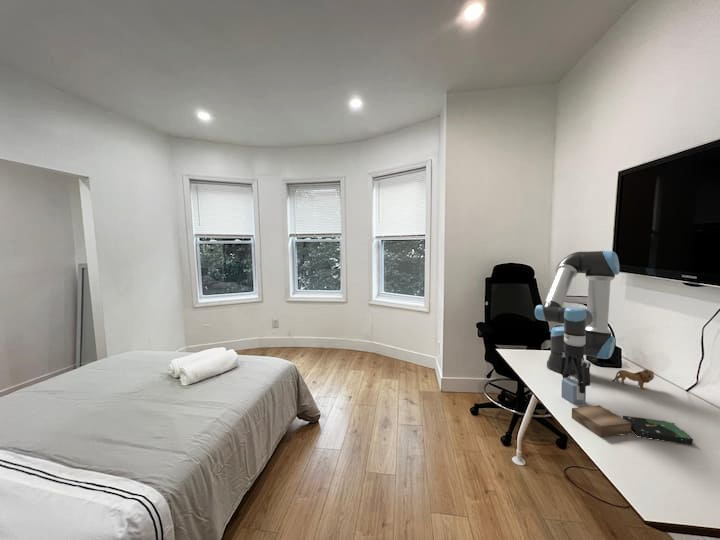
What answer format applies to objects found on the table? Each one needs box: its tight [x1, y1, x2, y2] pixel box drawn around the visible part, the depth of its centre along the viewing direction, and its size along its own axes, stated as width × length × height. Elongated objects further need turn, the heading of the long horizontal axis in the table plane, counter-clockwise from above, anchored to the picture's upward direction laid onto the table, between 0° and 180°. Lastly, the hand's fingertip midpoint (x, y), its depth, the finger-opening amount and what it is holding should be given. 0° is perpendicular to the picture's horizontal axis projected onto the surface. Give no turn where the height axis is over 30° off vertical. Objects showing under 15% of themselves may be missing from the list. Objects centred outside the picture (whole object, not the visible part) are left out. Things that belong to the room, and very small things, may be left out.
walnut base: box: [571, 404, 632, 438], centre depth 107 cm, size 12×12×4 cm
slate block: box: [561, 378, 587, 405], centre depth 126 cm, size 6×6×8 cm
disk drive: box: [622, 415, 694, 446], centre depth 103 cm, size 10×3×15 cm
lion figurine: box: [611, 369, 655, 390], centre depth 137 cm, size 15×5×9 cm, turn 55°
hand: (573, 395), depth 126 cm, fingers closed on slate block, 6 cm apart
